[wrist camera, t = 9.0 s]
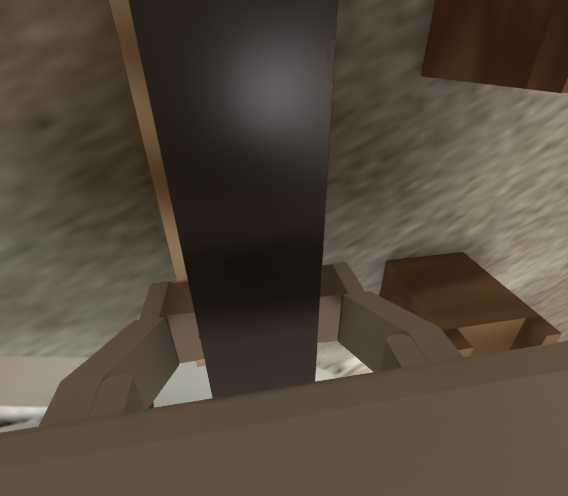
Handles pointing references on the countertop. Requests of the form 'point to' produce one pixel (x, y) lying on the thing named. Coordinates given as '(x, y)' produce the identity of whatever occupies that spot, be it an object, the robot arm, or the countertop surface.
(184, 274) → the wooden plank
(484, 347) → the post
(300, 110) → the rail
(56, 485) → the robot arm
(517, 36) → the post
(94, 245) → the countertop surface
